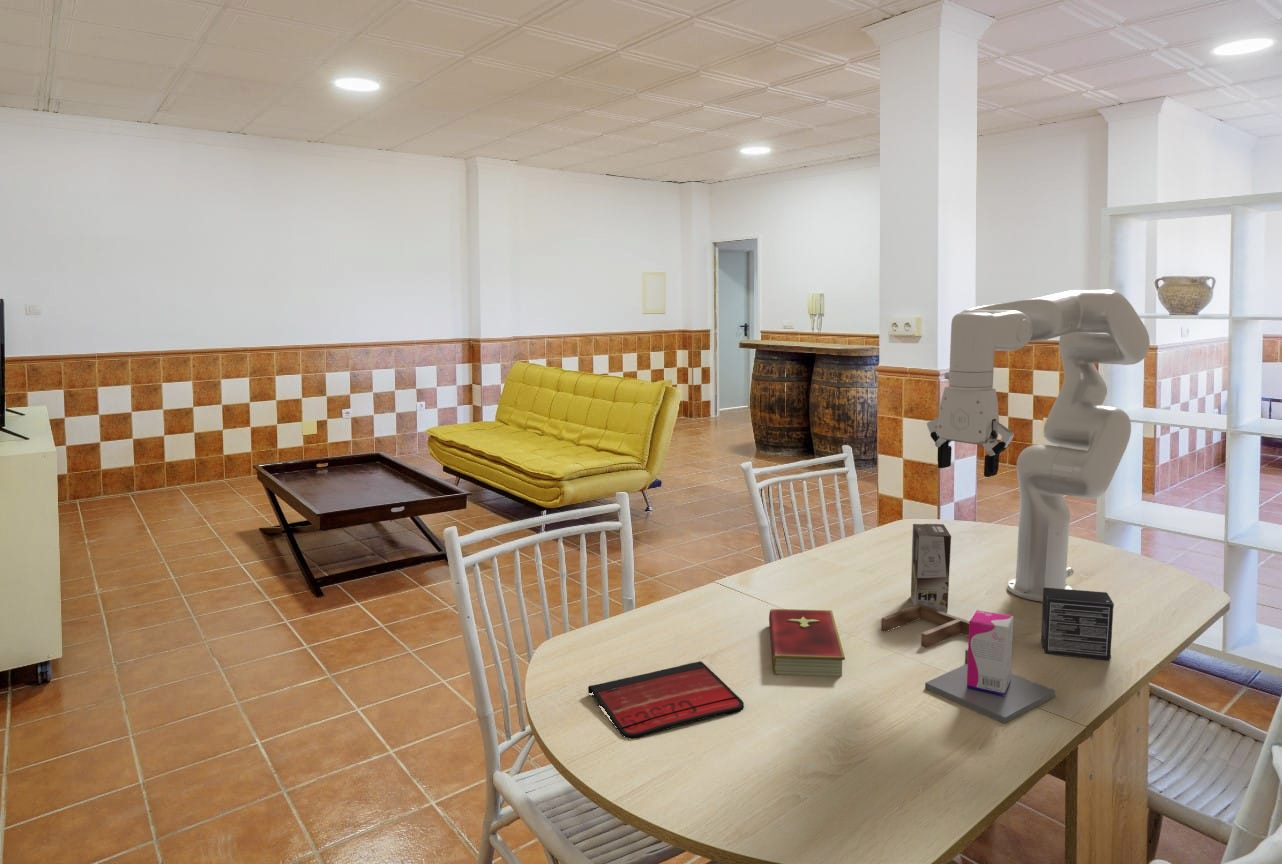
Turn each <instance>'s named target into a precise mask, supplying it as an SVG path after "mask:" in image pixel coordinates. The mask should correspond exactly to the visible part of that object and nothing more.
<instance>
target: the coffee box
mask: <svg viewBox="0 0 1282 864" xmlns="http://www.w3.org/2000/svg"><path fill="white" fill-rule="evenodd" d="M911 538H912V540H911V541H912V542H911V543H912V544H911V574H910V575H911V578H910V580H911V581H910V584H911V585H910V598H911V601H912V603H913V606H915V605H918V604H921V605H924V606H927V607H930V608H933V609H935V610H938V611H941V612H944V613H947V614H948V607H949V590H950V589H949V587H950V568H951V567H950V566H951V563H950V562H951V549H952V548H951V545H952V542H951V541H952V535H951V533H950V532H949V530H948V529H947V527H946V526H945V525H944V523H943V524H942V523H923V524H922V523H913V524H912V537H911Z"/></svg>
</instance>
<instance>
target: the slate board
mask: <svg viewBox="0 0 1282 864" xmlns="http://www.w3.org/2000/svg"><path fill="white" fill-rule="evenodd" d="M967 669H968V664H965V663H964V664H963V665H961V666H959V667H957V668H954V669H952V670H951V671H948V672H946V673H943V674H942V675H939V676H938V677H934V678H933V679H930V680H929V681H926V682H925V683H924V684H925V685H924V688H925V689H926V690H928V691H930V692H932V693H934V694H936V695H938V696H941V697H944V698H946V699H948V700H950V701H952V700H953V702H955V703H957V704H958V705H962V706H963V707H966V708H968V709H970V710H973V711H975V712H978V713H980V714H982V715H984V716H986V717H989V718H990V719H993V720H995V721H998V722H1000V723H1003V724H1005V725H1006V724H1007V723H1009V722H1011V721H1012V720H1014V719H1016V718H1018V717H1019V716H1022V715H1024V714H1025V713H1027V712H1029V711H1030V710H1033V709H1035V708H1037V707H1038V706H1040V705H1042V704H1044V703H1045V702H1047V701H1049V700H1051V699H1053V698H1055V697H1056V692H1057V691H1056V689H1053V688H1051V687H1049V686H1046V685H1043V684H1041V683H1038V682H1035V681H1033V680H1030V679H1027V678H1025V677H1022V676H1019V675H1017V674H1015V673H1012V672H1011V682H1010V685H1009V687H1008V689H1007V691H1006V694H1005V696H1000V695H995V694H991V693H987V692H982V691H977V690H973V689H968V688H967Z"/></svg>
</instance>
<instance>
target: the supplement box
mask: <svg viewBox="0 0 1282 864" xmlns="http://www.w3.org/2000/svg"><path fill="white" fill-rule="evenodd" d="M968 621H969V636H968V641H967V642H968V648H967V649H968V669H967V688H968V689H973V690H977V691H982V692H987V693H991V694H995V695H1000V696H1005V694H1006V691H1007V689H1008V687H1009V685H1010V682H1011V673H1012V655H1013V654H1012V652H1013V635H1014V634H1013V632H1014V631H1013V629H1014V615H1008V614H1003V613H996V612H990V611H984V610H979V609H978V610H976V611H975V613H974V614H973V616H972V617H971V619H970V620H968Z"/></svg>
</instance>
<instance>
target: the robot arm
mask: <svg viewBox="0 0 1282 864" xmlns="http://www.w3.org/2000/svg"><path fill="white" fill-rule="evenodd" d="M950 323H951V324H950V326H951V327H950V344H949V345H950V348H949V349H950V353H949V370H948V372H947V371H946V372H945V373H944V375H943V376H944V380H948V385H947V386H945V387H944V388H943V389H944V390H943V391H942V396H941V400H940V404H939V405H940V406H939V411H938V417H936V418H935V419H932V420H930V421H928V422H926V426H927V429H928V431H929V433H930V437H931V439H932V440H933V442H934V446H935V447H936V448H937V469H945V468H949V467H951V465H952V449H953V448H952V445H950V444H951V442H957V443H962V444H969V445H971V444H972V445H981V446H982V447H983V448H984V450H985V451H986V453H987V454H986V455H984V463H983V464H984V465H983V476H984V477H986V478H990V477H994V476H997V475H998V471H999V465H1000V464H999V463H1000V455H1002V454H1003V452H1004V451H1005V450H1006V449H1008V448H1009V446H1010V443H1011V442H1012V440H1013V438H1015V433H1014V432H1013V431H1012V430H1010V429H1009V428H1007V427H1006V426H1005V425H1003V424H1002V423H1001V422H1000V417H999V414H1000V413H999V402H998V400H999V399H998V395H997V394H998V393H997V390H996V388H994V386H993V385H994V369H995V368H994V366H995V351H996V352H997V351H999V352H1013V351H1018V350H1020V349H1023V347H1025V346H1026V345H1028V343H1030V342H1031V343H1032V342H1041V341H1043V342H1044V341H1048V340H1050V339H1054V338H1058V337H1059V340H1058V342H1059V343H1058V349H1059V352H1060V359H1061V364H1062V369H1063V384H1062V386H1061V389H1060V390H1059V393H1058V394H1057V397H1056V399H1055V401H1054V403H1053V404H1052V407H1051V409H1050V411H1049V413H1048V416H1047V417H1046V420H1045V423H1044V425H1043V435H1044V438H1045V439H1046V441H1047V442H1049V443H1050V444H1051V445H1049V444H1034V445H1030V446H1027V447H1025V448H1024V449H1023V450H1022V451H1021V452H1020V453H1019V455H1018V457H1017V460H1016V474H1017V482H1018V487H1019V517H1018V518H1019V519H1018V531H1017V534H1018V535H1017V549H1016V551H1017V553H1016V566H1015V568H1016V569H1015V571H1016V572H1015V578H1012V579H1010V580H1008V581H1007V590H1008V591H1009V592H1010V593H1011V594H1013V595H1015V596H1017V597H1020V598H1023V599H1026V600H1029V601H1035V602H1042V603H1043V588H1057V589H1069V590H1074V589H1073V588H1072V586H1070V585H1068V584H1066V583H1067V579H1068V578H1069V577H1072V576H1073V575H1074V574H1075V571H1074V569H1073V568H1071V567H1070V566H1068V555H1069V538H1070V524H1071V523H1070V522H1071V513H1070V509H1069V508H1070V507H1069V506H1068V503H1067V501H1066V499H1065V497H1064V496H1068V497H1074V498H1078V499H1085V500H1096V499H1099V498H1100V497H1102V496H1103V495H1104V494H1105V493H1106V491H1107V490H1108V488H1109V487H1110V484H1111V482H1112V480H1113V478H1114V476H1115V473H1116V471H1117V469H1118V467H1119V465H1120V463H1121V461H1122V459H1123V456H1124V454H1125V452H1126V449H1127V447H1128V445H1129V442H1130V438H1131V434H1132V424H1131V419H1130V417H1129V414H1128V413H1127V412H1125V411H1124V410H1123V409H1121V408H1119V407H1115V406H1109V405H1103V404H1104V401H1105V399H1106V397H1107V394H1108V388H1107V387H1108V386H1107V384H1106V382H1105V380H1104V378H1103V377H1102V374H1101V373H1100V372H1099V371H1098V369H1097V367H1096V364H1103V365H1104V364H1106V365H1108V364H1109V365H1121V366H1122V365H1123V366H1125V365H1126V366H1127V365H1128V366H1130V365H1135V364H1138V363H1140V362H1141V361H1143V360H1144V359H1145V358H1146V357H1147V355H1148V354H1149V349H1150V336H1149V333H1148V329H1147V328H1146V325H1145V324H1144V323H1143V321H1142V319H1141V318H1140V316H1139V315H1138V313H1137V311H1136V310H1135V308H1134V306H1133V305H1132V304H1131V302H1130V301H1129V300H1128V299H1127V298H1126V297H1125V296H1124V295H1123V294H1122V293H1120V292H1119V291H1117V290H1114V289H1113V290H1112V289H1095V290H1094V289H1090V290H1088V289H1086V290H1085V289H1083V290H1081V289H1078V290H1077V289H1073V290H1066V291H1062V292H1057V293H1052V294H1047V295H1044V296H1039V297H1033V298H1027V299H1019V300H1014V301H1009V302H1001V303H993V304H986V305H981V306H976V307H971V308H968V309H964V310H962V311H961V312H959V313H956V314H955V315H954V316H953V317H952V320H951V322H950ZM999 436H1001V439H1000V441H999V442H998V441H997V440H998V437H999ZM1052 444H1053V445H1052Z"/></svg>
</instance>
